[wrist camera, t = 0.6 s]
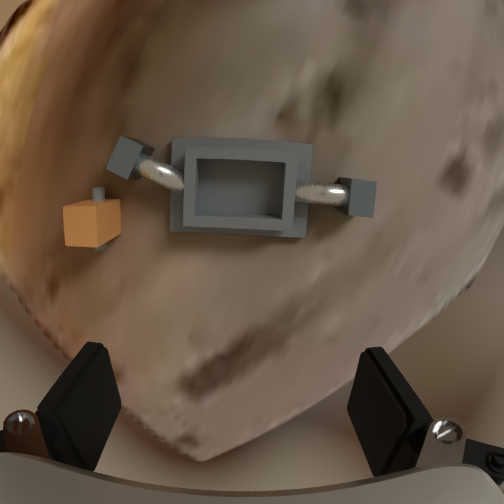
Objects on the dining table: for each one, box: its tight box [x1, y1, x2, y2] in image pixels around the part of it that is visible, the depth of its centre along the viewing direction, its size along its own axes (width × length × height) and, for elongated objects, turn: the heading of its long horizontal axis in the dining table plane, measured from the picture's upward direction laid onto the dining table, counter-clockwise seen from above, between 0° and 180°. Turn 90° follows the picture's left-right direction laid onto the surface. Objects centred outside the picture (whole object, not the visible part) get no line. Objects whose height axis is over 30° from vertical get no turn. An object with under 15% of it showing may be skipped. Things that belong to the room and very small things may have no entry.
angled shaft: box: [106, 136, 184, 196], centre depth 32 cm, size 9×4×4 cm, turn 62°
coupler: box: [63, 187, 121, 251], centre depth 32 cm, size 4×8×7 cm, turn 177°
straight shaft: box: [295, 177, 376, 218], centre depth 33 cm, size 9×4×4 cm, turn 87°
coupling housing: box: [170, 137, 313, 238], centre depth 33 cm, size 11×16×4 cm
